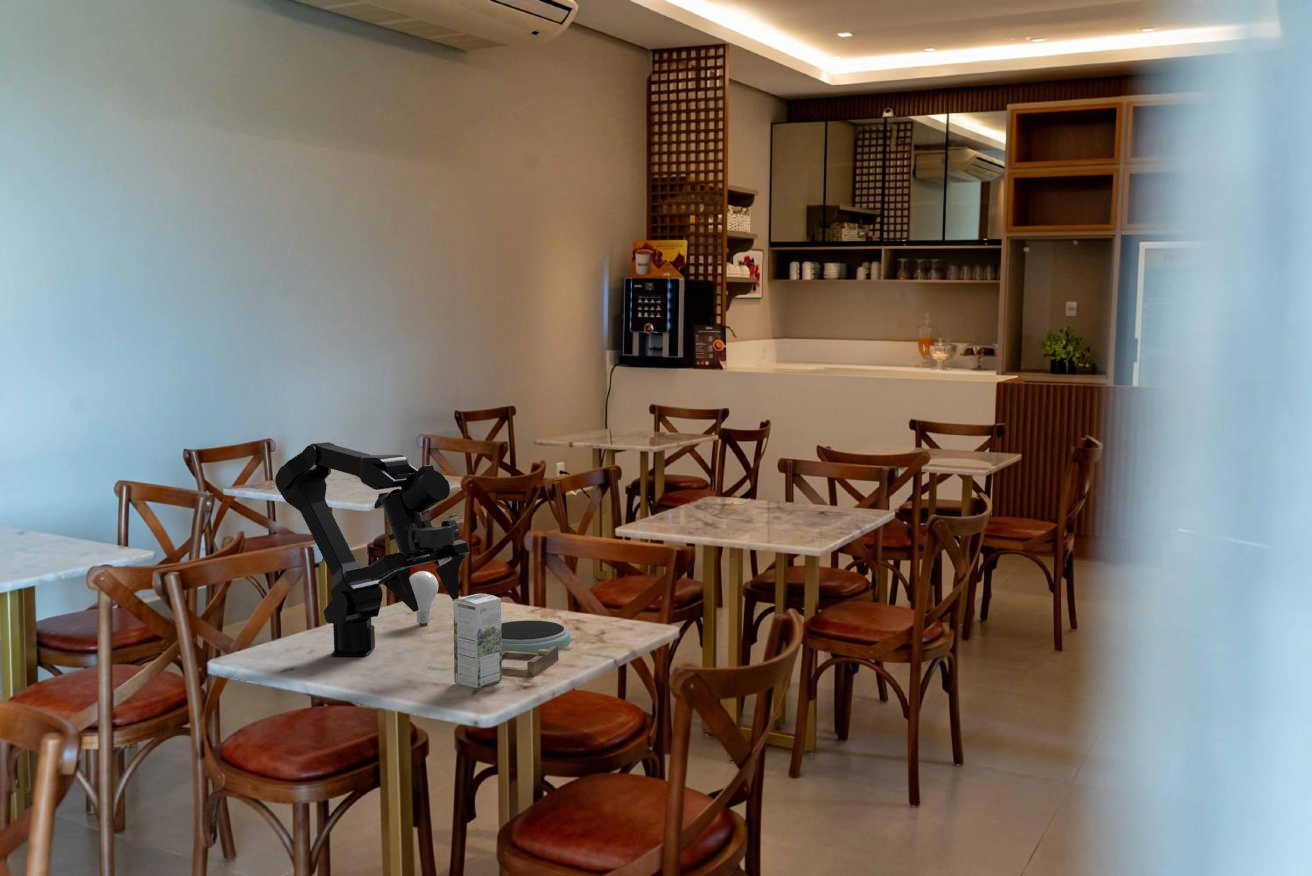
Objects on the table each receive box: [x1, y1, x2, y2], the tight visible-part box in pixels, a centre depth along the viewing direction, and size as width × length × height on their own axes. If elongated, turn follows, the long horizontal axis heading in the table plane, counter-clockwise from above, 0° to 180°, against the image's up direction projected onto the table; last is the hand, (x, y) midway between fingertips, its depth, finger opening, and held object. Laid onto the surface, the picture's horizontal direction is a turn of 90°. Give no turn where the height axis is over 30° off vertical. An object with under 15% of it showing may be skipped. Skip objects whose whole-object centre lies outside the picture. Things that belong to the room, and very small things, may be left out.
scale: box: [501, 619, 572, 653], centre depth 217 cm, size 18×4×25 cm
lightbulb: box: [409, 570, 439, 626], centre depth 230 cm, size 6×6×11 cm
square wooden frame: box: [501, 646, 559, 677], centre depth 199 cm, size 11×11×3 cm
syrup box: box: [453, 593, 503, 689], centre depth 189 cm, size 6×6×14 cm
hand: (436, 605), depth 196 cm, fingers open, 9 cm apart
